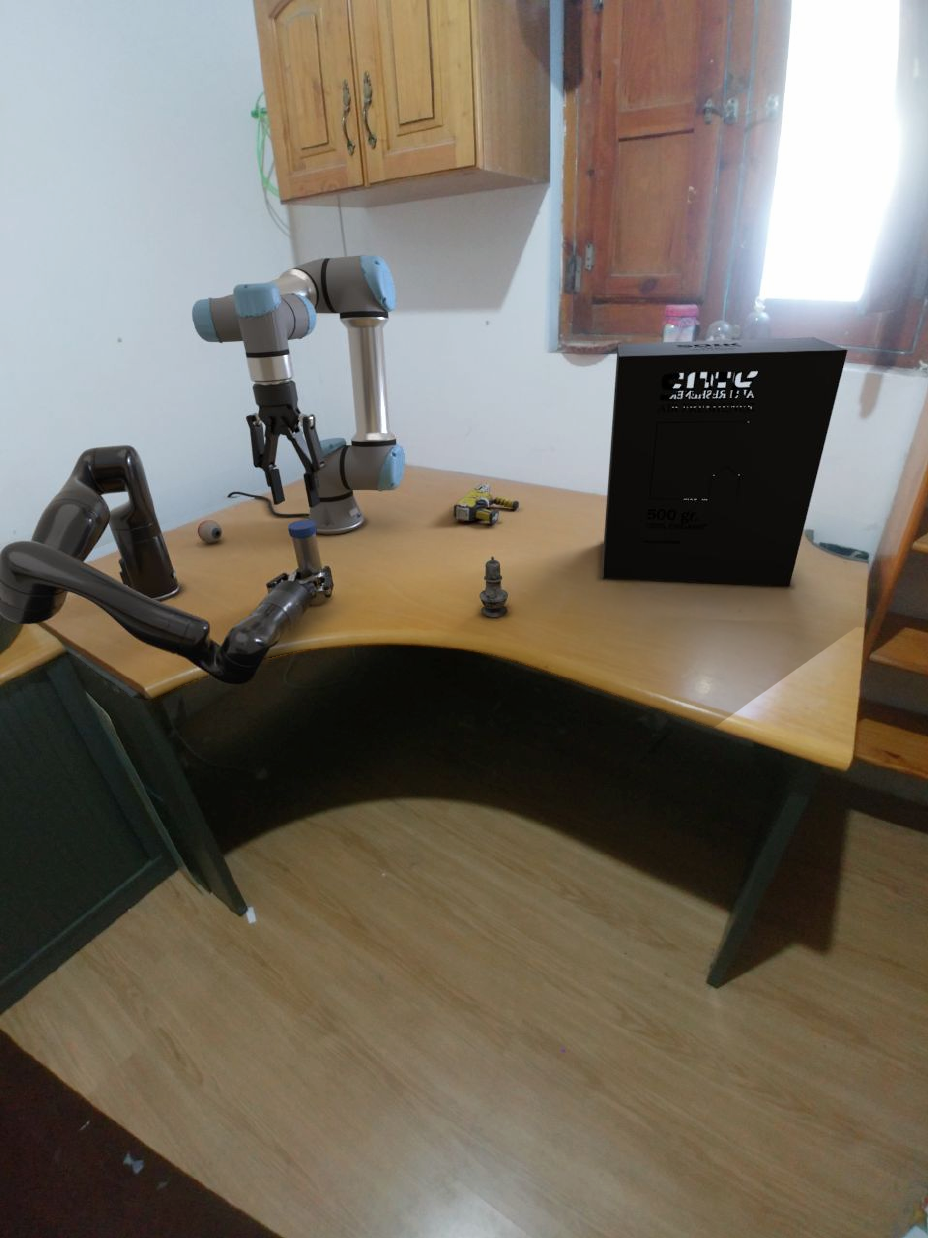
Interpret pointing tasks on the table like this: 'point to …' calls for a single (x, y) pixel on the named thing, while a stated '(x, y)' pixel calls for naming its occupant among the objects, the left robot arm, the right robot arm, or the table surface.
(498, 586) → the dark grey tiered cylinder
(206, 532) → the eyeball
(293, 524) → the lid
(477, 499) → the toy gun
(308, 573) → the jar
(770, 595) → the table surface
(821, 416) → the cardboard box
